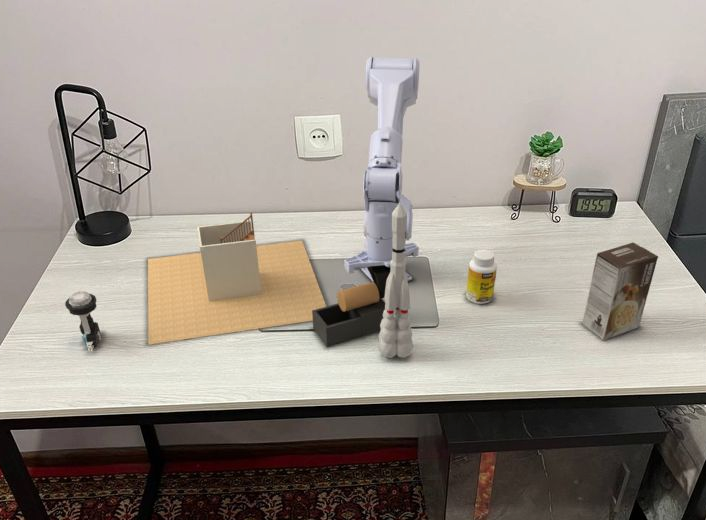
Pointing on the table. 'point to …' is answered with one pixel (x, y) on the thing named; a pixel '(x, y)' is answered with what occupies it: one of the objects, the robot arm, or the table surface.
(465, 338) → the table surface
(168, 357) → the table surface
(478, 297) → the supplement bottle
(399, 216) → the rocket model
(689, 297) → the table surface
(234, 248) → the staircase
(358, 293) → the paper roll
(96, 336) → the push button
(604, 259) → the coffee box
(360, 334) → the caddy
